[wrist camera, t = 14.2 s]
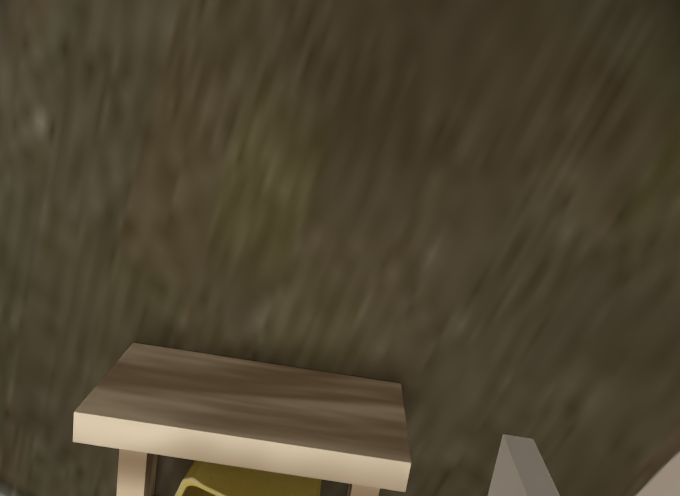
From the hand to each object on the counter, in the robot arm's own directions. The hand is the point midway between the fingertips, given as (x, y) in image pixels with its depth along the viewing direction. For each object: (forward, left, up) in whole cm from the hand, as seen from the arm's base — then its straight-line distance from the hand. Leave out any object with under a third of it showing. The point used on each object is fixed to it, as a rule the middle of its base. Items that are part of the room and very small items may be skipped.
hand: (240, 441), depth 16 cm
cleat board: (+19, -2, -29) cm, 35 cm away
